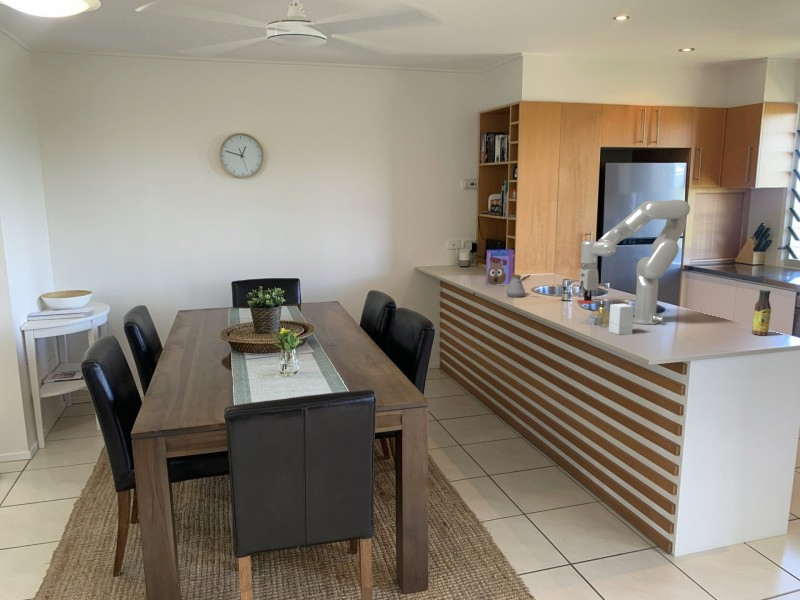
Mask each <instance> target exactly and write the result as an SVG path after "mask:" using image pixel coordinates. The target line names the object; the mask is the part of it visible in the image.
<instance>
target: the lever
mask: <svg viewBox="0 0 800 600" xmlns="http://www.w3.org/2000/svg"><path fill="white" fill-rule="evenodd" d="M606 303H607V301H606V300H600V299H599V300H584V299H577V304H578V305H579V304H583V305H593V304H596V305H597V304H598V305H600V307H605V305H606Z"/></svg>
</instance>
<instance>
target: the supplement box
mask: <svg viewBox="0 0 800 600" xmlns="http://www.w3.org/2000/svg"><path fill="white" fill-rule="evenodd" d="M634 309H635V306H634V305H631V304H626V303H614V304H609V311H610V318H609V326H608V332H610V333H613V334H615V335H619V336H620V335H632V334H633V323H634V322H633V318H634Z"/></svg>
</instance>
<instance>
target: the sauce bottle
mask: <svg viewBox="0 0 800 600" xmlns="http://www.w3.org/2000/svg"><path fill="white" fill-rule="evenodd" d="M770 294H771V290H770V289H759V296H758V297H759V298H758V301H757V302H756V303H755V306H754V311H753V319H752V326H751V331H752V332H751V334H752V335H756V336H767V335H768V334H769V328H770V323H771V322H770V321H771V313H772V308H771V307H772V306H771V302H770Z"/></svg>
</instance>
